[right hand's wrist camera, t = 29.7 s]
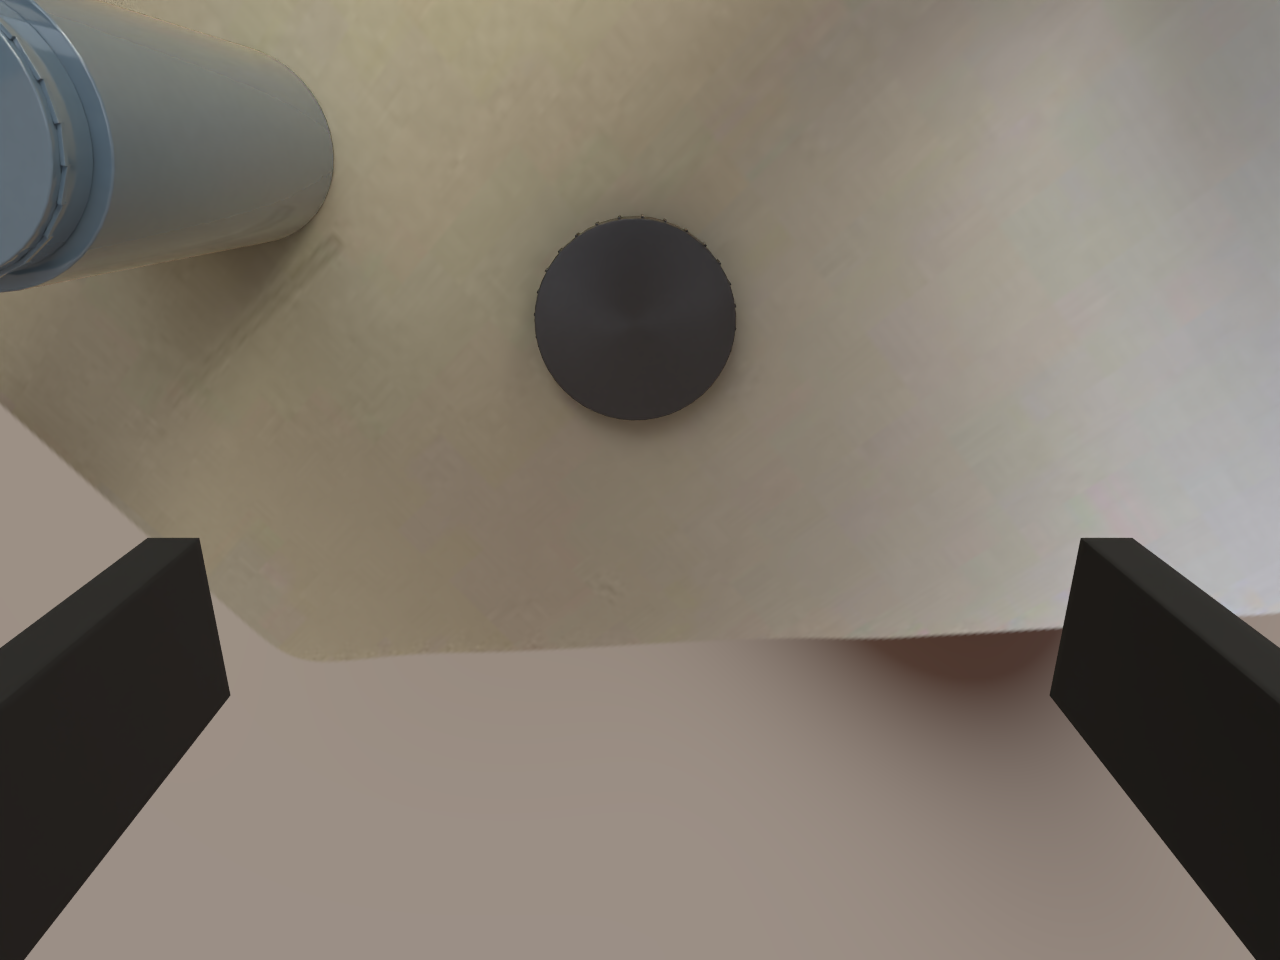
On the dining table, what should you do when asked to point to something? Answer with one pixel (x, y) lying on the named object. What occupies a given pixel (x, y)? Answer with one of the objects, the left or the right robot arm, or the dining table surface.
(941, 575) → the dining table surface
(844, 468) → the dining table surface
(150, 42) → the jar
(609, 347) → the lid
